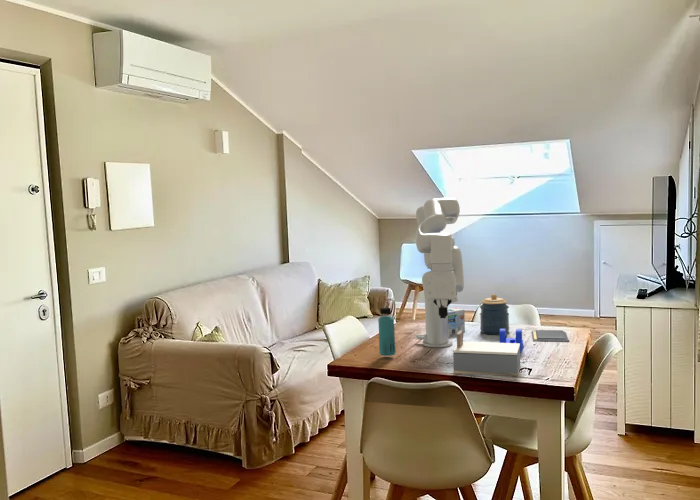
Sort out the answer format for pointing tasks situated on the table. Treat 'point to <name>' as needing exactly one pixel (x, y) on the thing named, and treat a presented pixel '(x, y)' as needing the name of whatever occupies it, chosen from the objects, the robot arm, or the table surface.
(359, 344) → the table surface
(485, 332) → the canister
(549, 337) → the wallet
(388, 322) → the beverage bottle
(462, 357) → the grey tray
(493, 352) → the lid
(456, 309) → the light bulb box
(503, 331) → the bracket
